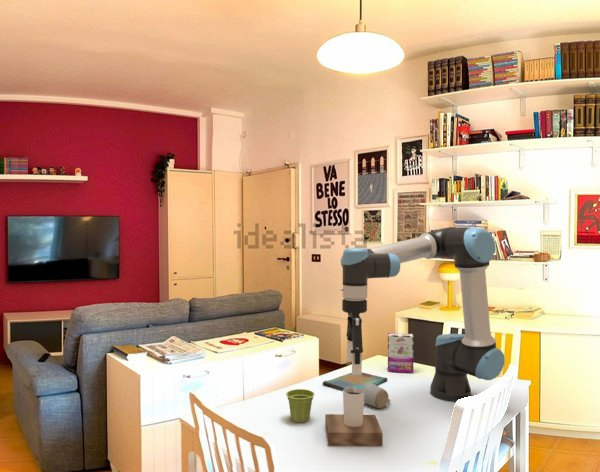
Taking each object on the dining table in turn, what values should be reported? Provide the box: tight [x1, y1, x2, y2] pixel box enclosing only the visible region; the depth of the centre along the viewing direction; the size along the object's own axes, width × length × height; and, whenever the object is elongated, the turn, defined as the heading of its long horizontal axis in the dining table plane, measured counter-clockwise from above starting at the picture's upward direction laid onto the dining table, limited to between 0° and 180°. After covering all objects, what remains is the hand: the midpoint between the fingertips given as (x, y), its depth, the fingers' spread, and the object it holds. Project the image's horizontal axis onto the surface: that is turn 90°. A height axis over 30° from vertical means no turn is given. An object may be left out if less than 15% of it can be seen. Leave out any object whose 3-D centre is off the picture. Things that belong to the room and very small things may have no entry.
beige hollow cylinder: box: [342, 387, 365, 427], centre depth 158 cm, size 7×7×10 cm
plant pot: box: [285, 388, 315, 423], centre depth 171 cm, size 9×9×9 cm
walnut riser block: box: [324, 413, 384, 447], centre depth 159 cm, size 16×14×4 cm
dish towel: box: [322, 372, 388, 392], centre depth 210 cm, size 17×23×2 cm
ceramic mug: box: [362, 383, 391, 409], centre depth 186 cm, size 10×8×7 cm
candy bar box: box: [387, 332, 415, 374], centre depth 227 cm, size 11×5×16 cm, turn 80°
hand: (353, 367), depth 158 cm, fingers open, 13 cm apart
